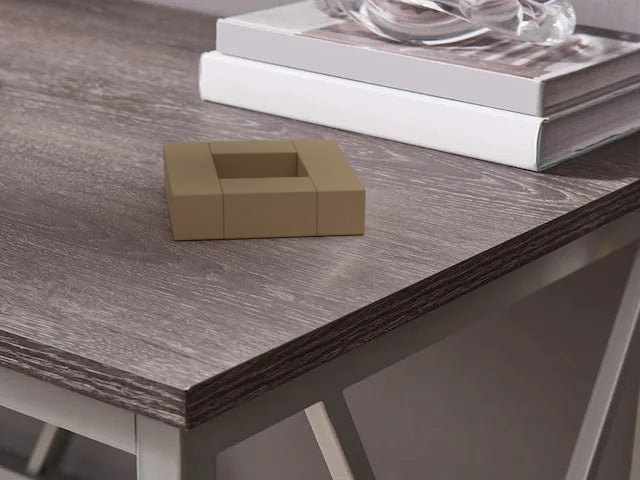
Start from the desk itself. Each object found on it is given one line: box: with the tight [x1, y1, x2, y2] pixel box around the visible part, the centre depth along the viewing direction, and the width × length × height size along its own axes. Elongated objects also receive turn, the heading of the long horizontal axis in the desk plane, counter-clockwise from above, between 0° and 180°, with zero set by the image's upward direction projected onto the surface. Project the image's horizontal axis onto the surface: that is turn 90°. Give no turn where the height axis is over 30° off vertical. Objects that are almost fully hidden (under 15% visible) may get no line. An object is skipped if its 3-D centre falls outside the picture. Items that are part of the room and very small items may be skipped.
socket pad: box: [162, 138, 366, 241], centre depth 72 cm, size 10×10×2 cm
